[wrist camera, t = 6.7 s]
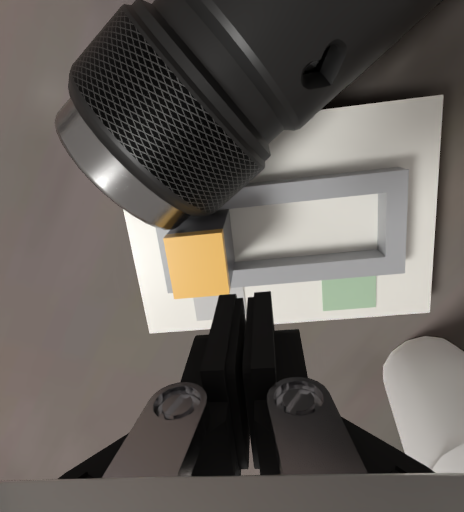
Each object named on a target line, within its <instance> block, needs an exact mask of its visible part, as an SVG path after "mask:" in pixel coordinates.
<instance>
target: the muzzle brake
mask: <svg viewBox="0 0 464 512" xmlns="http://www.w3.org/2000/svg"><path fill="white" fill-rule="evenodd" d="M442 1H443V0H155V1H154V2H153V3H152V4H150V3H148V2H146V1H143V0H136V1H135V2H134V3H133V4H132V5H126V4H124V5H122V6H121V7H120V8H119V10H118V11H117V12H116V13H115V14H114V16H113V17H112V18H111V19H110V20H109V22H108V23H107V24H106V25H105V26H104V28H103V29H102V30H101V31H100V32H99V34H98V35H97V36H96V37H95V38H94V40H93V41H92V42H91V43H90V44H89V46H88V47H87V48H86V49H85V50H84V52H83V53H82V54H81V55H80V56H79V58H78V59H77V60H76V61H75V62H74V63H73V65H72V67H71V70H70V73H69V84H68V89H69V94H70V97H71V98H70V99H69V100H68V101H67V102H66V103H65V104H64V106H63V107H62V108H61V109H60V110H59V111H58V113H57V115H56V119H55V127H56V132H57V134H58V136H59V139H60V141H61V143H62V145H63V146H64V148H65V149H66V151H67V153H68V154H69V156H70V157H71V158H72V160H73V161H74V162H75V164H76V165H77V166H78V168H79V169H80V170H81V171H82V172H83V173H84V174H85V175H86V177H87V178H88V179H89V180H90V181H91V182H92V183H93V184H94V185H95V186H96V187H97V188H98V189H99V190H100V191H101V192H103V193H104V194H105V195H106V196H107V197H108V198H110V199H111V200H112V201H113V202H114V203H116V204H117V205H118V206H120V207H121V208H122V209H124V210H125V211H127V212H128V213H130V214H131V215H132V216H134V217H136V218H138V219H139V220H141V221H143V222H144V223H146V224H149V225H151V226H153V227H156V228H159V229H163V230H173V229H175V228H177V227H179V226H180V225H181V224H182V223H183V222H184V221H185V220H186V219H188V218H189V217H190V216H191V215H192V216H206V215H211V214H213V213H215V212H216V211H218V210H219V209H220V208H221V207H222V206H223V205H224V204H225V203H226V202H228V201H229V200H230V199H231V198H232V197H233V196H234V195H235V194H237V193H238V192H239V191H240V190H241V189H242V188H243V187H244V186H246V185H247V184H248V183H249V182H250V181H251V180H252V179H253V178H254V177H256V176H257V175H258V174H259V173H260V172H261V171H262V170H263V169H264V168H265V161H266V160H267V159H268V158H269V157H270V156H271V154H270V149H269V143H270V142H271V141H272V140H274V139H275V138H276V137H277V136H278V135H279V134H280V133H281V132H282V131H283V130H292V131H295V130H298V129H301V128H302V127H303V126H304V125H305V124H306V123H307V122H308V121H309V120H311V119H312V118H313V117H314V115H315V114H316V113H318V112H319V111H320V110H321V109H322V108H323V107H324V106H325V105H326V104H327V103H329V102H330V101H331V100H332V99H333V98H334V97H335V96H336V95H337V94H339V93H340V92H341V91H342V90H343V89H344V88H345V87H347V86H348V85H349V84H351V83H352V82H353V81H354V80H355V79H356V78H357V77H358V76H359V75H360V74H362V73H363V72H364V71H365V70H366V69H367V68H368V67H369V66H370V65H372V64H373V63H374V62H375V61H376V60H377V59H378V58H379V57H380V56H382V55H383V54H384V53H385V52H386V51H387V50H388V49H389V48H390V47H392V46H393V45H394V44H395V43H396V42H397V41H398V40H399V39H400V38H401V37H402V36H403V35H404V34H405V33H406V32H407V31H409V30H410V29H411V28H412V27H413V26H414V25H415V24H416V23H417V22H418V21H420V20H421V19H422V18H423V17H424V16H425V15H426V14H427V13H429V12H430V11H431V10H432V9H433V8H434V7H435V6H437V5H438V4H439V3H440V2H442Z"/></svg>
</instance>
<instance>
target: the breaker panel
mask: <svg viewBox="0 0 464 512" xmlns="http://www.w3.org/2000/svg"><path fill="white" fill-rule="evenodd" d="M442 111H443V95H436V96H428V97H420V98H411V99H403V100H395V101H387V102H379V103H371V104H363V105H355V106H347V107H339V108H331V109H323V110H320V111H319V112H318V113H316V114H315V115H314V117H313V118H312V119H311V120H309V121H308V122H307V123H306V124H305V125H304V126H303V127H302V128H301V129H298V130H295V131H292V130H283V131H282V132H281V133H280V134H279V135H278V136H277V137H276V138H275V139H274V140H272V141H271V142H270V143H269V149H270V154H271V156H270V157H269V158H268V159H267V160H266V161H265V168H264V169H263V170H262V171H261V172H260V173H259V174H258V175H257V176H256V177H254V178H253V179H252V180H251V181H250V182H249V183H248V184H247V185H246V186H244V187H243V188H242V189H241V190H240V191H239V192H238V193H237V194H235V195H234V196H233V197H232V198H231V199H230V200H229V201H228V202H226V203H225V204H224V205H223V206H222V207H221V208H220V209H219V210H224V209H229V214H230V222H231V230H232V239H233V247H234V255H235V261H234V268H233V275H232V282H231V289H230V294H236V295H237V298H243V301H244V309H245V317H246V314H247V301H248V297H254V292H267V291H271V298H272V309H273V320H274V324H283V323H296V322H309V321H323V320H336V319H350V318H363V317H376V316H390V315H403V314H417V313H430V302H431V286H432V270H433V254H434V238H435V222H436V207H437V191H438V175H439V159H440V143H441V127H442ZM123 210H124V209H123ZM124 215H125V220H126V224H127V229H128V234H129V238H130V243H131V248H132V252H133V257H134V262H135V267H136V271H137V276H138V281H139V285H140V290H141V295H142V300H143V304H144V309H145V314H146V318H147V323H148V328H149V332H150V333H162V332H176V331H189V330H202V329H211V325H212V321H213V317H214V313H215V309H216V305H217V301H218V297H219V296H207V297H195V298H183V299H174V296H173V290H172V285H171V279H170V274H169V268H168V263H167V257H166V252H165V246H164V241H163V238H164V237H165V235H166V234H167V233H168V232H169V231H170V230H163V229H159V228H156V227H153V226H151V225H149V224H146V223H144V222H143V221H141V220H139V219H138V218H136V217H134V216H132V215H131V214H130V213H128V212H127V211H125V210H124Z"/></svg>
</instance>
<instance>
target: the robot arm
mask: <svg viewBox="0 0 464 512" xmlns="http://www.w3.org/2000/svg"><path fill="white" fill-rule="evenodd" d="M250 438H251V446H252V454H253V462H254V468H255V469H260V475H246V476H241V469H248V467H249V443H250ZM0 512H464V473H435V472H434V471H432V470H431V469H430V468H428V467H427V466H425V465H424V464H422V463H420V462H418V461H417V460H415V459H413V458H411V457H410V456H408V455H406V454H405V453H403V452H401V451H399V450H398V449H396V448H394V447H392V446H391V445H389V444H387V443H386V442H384V441H382V440H380V439H379V438H377V437H375V436H373V435H372V434H370V433H368V432H367V431H365V430H363V429H361V428H360V427H358V426H356V425H354V424H353V423H351V422H349V421H348V420H346V419H344V418H342V417H341V416H340V414H339V412H338V410H337V408H336V406H335V404H334V402H333V400H332V398H331V395H330V393H329V392H328V390H327V389H326V388H325V386H323V385H322V384H320V383H319V382H318V381H315V380H312V379H310V378H308V377H307V371H306V366H305V360H304V355H303V349H302V344H301V338H300V333H299V329H295V330H278V331H274V320H273V309H272V298H271V291H267V292H254V297H248V301H247V314H246V317H245V309H244V301H243V298H237V295H236V294H226V295H219V297H218V301H217V305H216V309H215V313H214V317H213V321H212V325H211V329H210V333H209V335H197V336H195V338H194V341H193V344H192V347H191V351H190V354H189V357H188V360H187V363H186V366H185V370H184V373H183V376H182V379H181V382H180V383H175V384H171V385H168V386H166V387H164V388H162V389H160V390H159V391H158V392H156V393H155V394H154V395H153V396H152V397H151V399H150V400H149V401H148V403H147V405H146V406H145V408H144V410H143V411H142V413H141V414H140V416H139V418H138V419H137V421H136V423H135V424H134V426H133V428H132V429H131V431H130V432H129V433H128V434H127V435H125V436H124V437H122V438H120V439H119V440H117V441H116V442H114V443H112V444H111V445H109V446H108V447H106V448H104V449H103V450H101V451H100V452H98V453H97V454H95V455H93V456H92V457H90V458H89V459H87V460H85V461H84V462H82V463H81V464H79V465H77V466H76V467H74V468H73V469H71V470H70V471H68V472H66V473H65V474H63V475H62V476H61V477H60V478H58V479H50V480H8V481H0Z"/></svg>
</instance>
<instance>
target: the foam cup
mask: <svg viewBox="0 0 464 512" xmlns="http://www.w3.org/2000/svg"><path fill="white" fill-rule="evenodd" d="M383 381H384V383H385V389H386V392H387V396H388V399H389V402H390V406H391V409H392V412H393V415H394V419H395V422H396V425H397V429H398V432H399V435H400V438H401V442H402V445H403V448H404V452H405V454H406V455H408V456H410V457H411V458H413V459H415V460H417V461H418V462H420V463H422V464H424V465H425V466H427V467H428V468H430V469H431V470H432V471H434V472H435V473H464V351H462V350H461V349H459V348H458V347H457V346H455V345H454V344H452V343H450V342H449V341H447V340H445V339H444V338H438V337H430V336H422V337H419V338H415V339H411V340H407V341H405V342H404V343H402V344H401V345H400V346H398V347H397V348H396V349H394V350H393V351H392V352H391V353H390V355H389V357H388V358H387V360H386V362H385V364H384V365H383Z"/></svg>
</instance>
